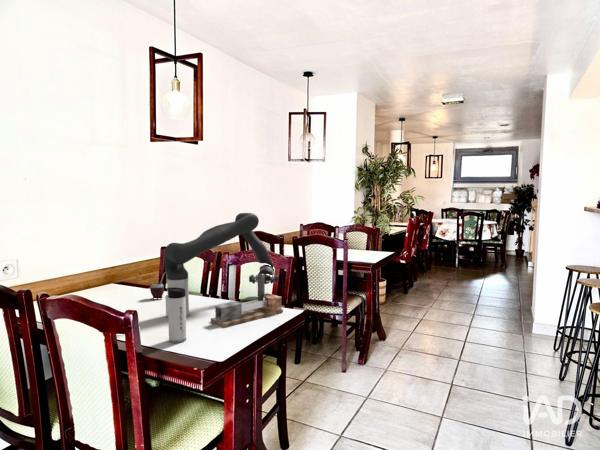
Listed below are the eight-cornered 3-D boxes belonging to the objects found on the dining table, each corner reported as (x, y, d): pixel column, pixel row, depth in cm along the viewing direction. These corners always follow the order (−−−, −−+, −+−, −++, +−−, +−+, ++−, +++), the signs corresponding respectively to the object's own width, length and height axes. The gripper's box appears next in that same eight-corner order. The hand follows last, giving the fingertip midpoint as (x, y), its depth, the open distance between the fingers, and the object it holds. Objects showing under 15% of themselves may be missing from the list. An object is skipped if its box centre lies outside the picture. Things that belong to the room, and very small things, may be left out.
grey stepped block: (234, 313, 174) (234, 279, 173) (230, 312, 176) (229, 278, 175) (273, 304, 189) (273, 273, 188) (269, 303, 191) (268, 272, 191)
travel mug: (170, 337, 154) (169, 286, 152) (187, 337, 154) (186, 285, 153) (166, 343, 147) (164, 289, 146) (184, 343, 148) (183, 289, 147)
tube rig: (225, 327, 166) (224, 309, 166) (210, 321, 174) (210, 304, 174) (282, 312, 188) (282, 296, 188) (267, 308, 196) (267, 292, 196)
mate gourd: (147, 299, 214) (147, 271, 213) (158, 296, 221) (157, 269, 220) (158, 300, 211) (158, 272, 210) (169, 297, 218) (168, 270, 218)
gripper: (252, 267, 207) (247, 273, 190) (279, 267, 206) (277, 273, 190) (252, 282, 207) (247, 289, 191) (279, 282, 207) (277, 289, 191)
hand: (262, 281), depth 191 cm, fingers open, 8 cm apart
